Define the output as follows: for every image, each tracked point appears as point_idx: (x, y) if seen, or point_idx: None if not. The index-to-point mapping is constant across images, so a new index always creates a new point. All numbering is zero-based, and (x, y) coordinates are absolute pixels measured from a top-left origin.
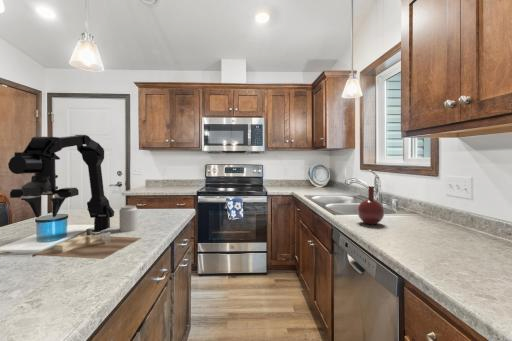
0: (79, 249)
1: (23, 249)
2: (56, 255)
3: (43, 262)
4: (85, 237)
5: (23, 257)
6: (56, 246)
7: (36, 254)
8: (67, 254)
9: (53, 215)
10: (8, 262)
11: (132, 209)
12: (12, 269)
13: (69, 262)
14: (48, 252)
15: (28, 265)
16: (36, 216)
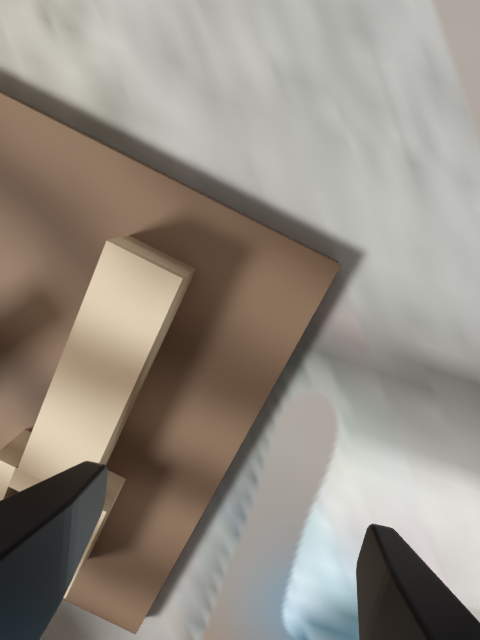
0: (37, 282)
1: (471, 485)
2: (150, 181)
3: (216, 114)
4: (26, 451)
5: (404, 288)
6: (164, 266)
7: (310, 257)
8: (78, 181)
9: (79, 469)
10: (472, 199)
11: None
12: (382, 9)
13: (29, 52)
14: (239, 282)
15: (299, 74)
16: (389, 532)
